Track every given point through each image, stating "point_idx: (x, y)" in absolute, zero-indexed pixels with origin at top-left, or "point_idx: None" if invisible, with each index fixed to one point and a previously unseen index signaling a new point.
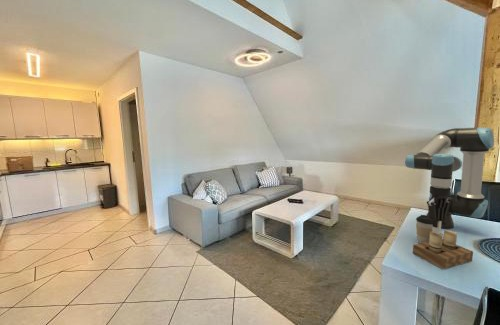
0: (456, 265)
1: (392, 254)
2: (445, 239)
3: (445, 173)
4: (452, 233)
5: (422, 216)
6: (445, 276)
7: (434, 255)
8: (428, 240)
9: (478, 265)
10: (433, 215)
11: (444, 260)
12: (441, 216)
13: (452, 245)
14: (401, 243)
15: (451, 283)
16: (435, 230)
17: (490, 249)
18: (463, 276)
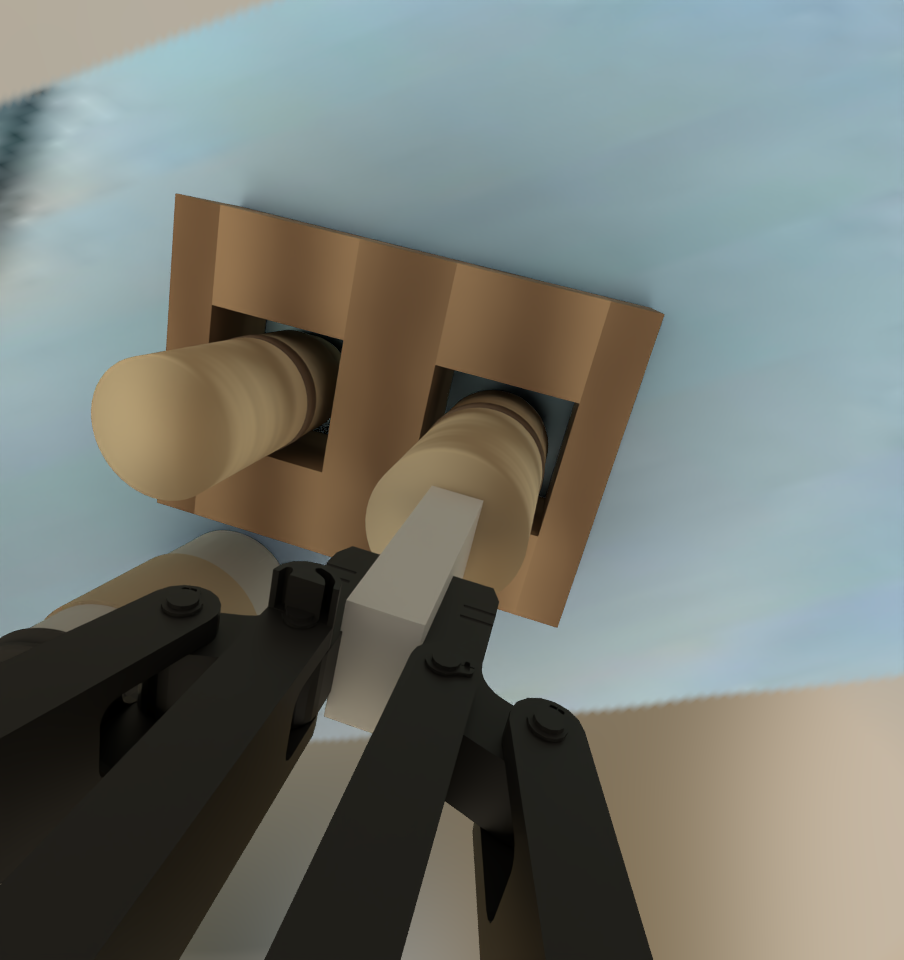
0: (457, 260)
1: (740, 679)
2: (276, 436)
3: None
4: (173, 400)
5: None
6: (783, 243)
7: (629, 412)
8: (243, 565)
9: (276, 141)
10: (614, 900)
11: (648, 310)
12: (286, 693)
13: (283, 356)
14: None
15: (891, 157)
16: (463, 565)
17: None
18: (631, 142)
